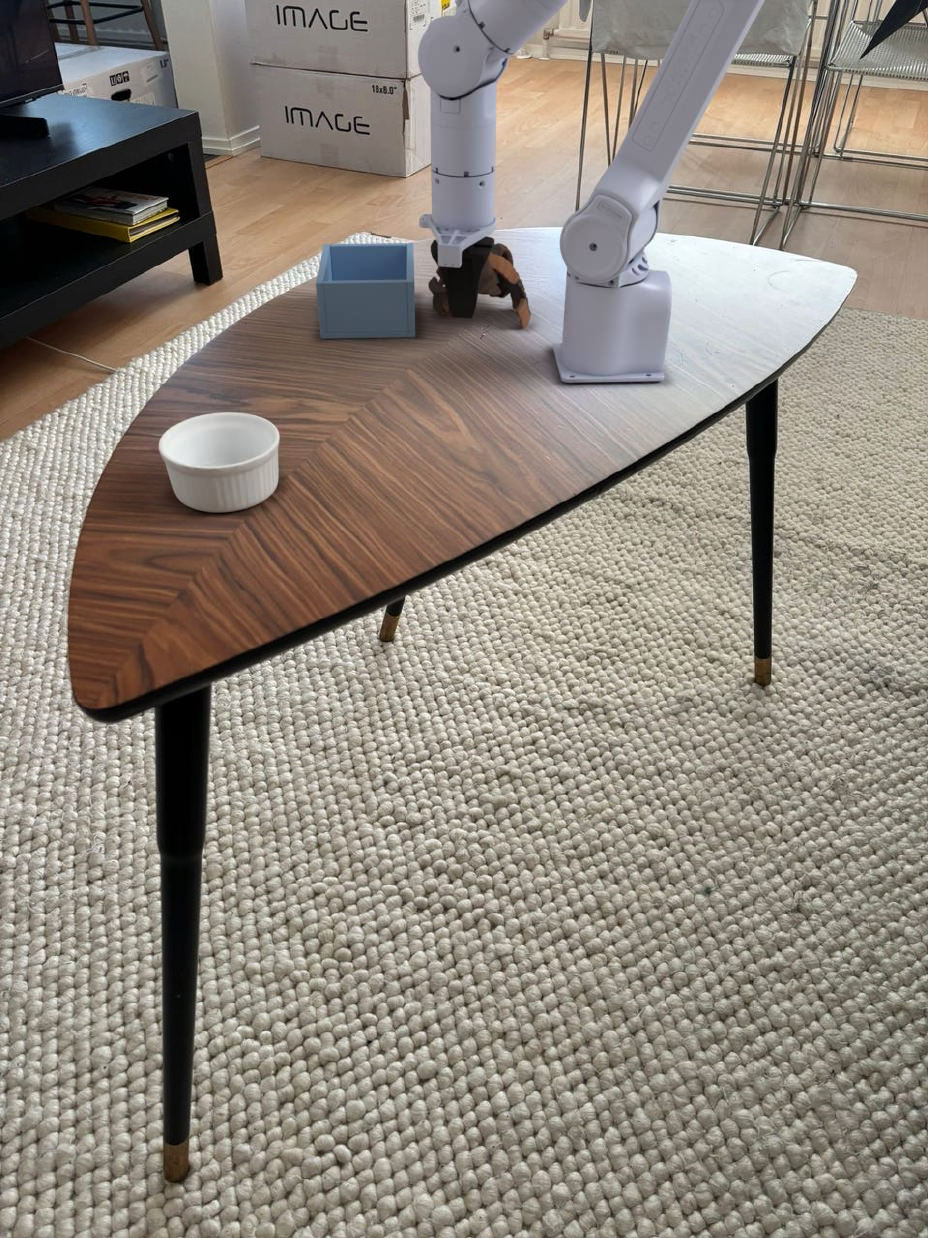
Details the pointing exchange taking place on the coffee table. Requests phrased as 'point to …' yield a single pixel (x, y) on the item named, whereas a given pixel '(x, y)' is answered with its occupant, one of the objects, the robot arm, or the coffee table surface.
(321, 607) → the coffee table surface
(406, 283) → the bin
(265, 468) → the ramekin
